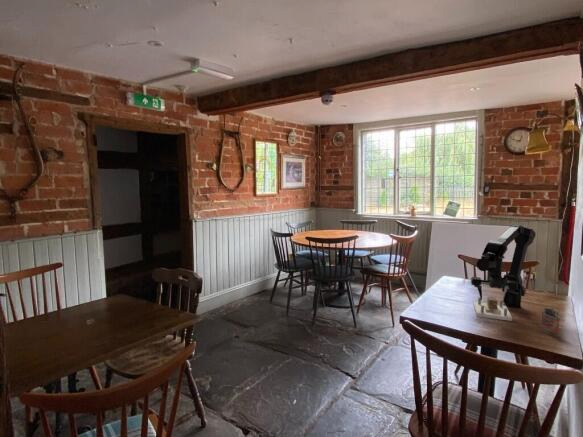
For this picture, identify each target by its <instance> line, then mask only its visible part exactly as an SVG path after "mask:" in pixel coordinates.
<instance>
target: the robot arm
mask: <svg viewBox="0 0 583 437" xmlns="http://www.w3.org/2000/svg"><path fill="white" fill-rule="evenodd" d="M535 238H536V232H535V231H534V229H533V228H528V227H525V226H522V225H521V224H511V225H510V226H509V228H508V229H507V230H506V231H505V232H504V233H502V234H501V235H500V236H499V237H497V238H493V239H491V240H489V241H488V242H487V243H486V245H485V248H484V249H483V252H482V254H481V257H480V258H479V259H478V260H477V261H476V267H477V269H478V270H479V271H481V272H487V275H486V279H481V277H478V276H471V277H470V283H471V285H472V286H474V287H475V288H477V290H478V294H479V298H481V301H482V299H483V291H482V289H483V288H482V285H489V287H490V288H491V289H492V288H493V289H499V290H500V289H501V290H502V292H503V295H502V296H503V297H502V300H503V304H504V306H506V307H507V308H508V307H509V308H510V307H511V308H517V309H518V308H519V309H522V305H521V304H522V302H521V301H522V297H525V295H526V291H527V290H526V289H525V287H524V285H523V284H524V280H523V278H522V275H521V274H522V270H523V267H524V262H525V259H526V254H527V250H528V247H529V246H530V245H531V244H533V242H534V239H535ZM513 241H514V243H515V248H514V251H513V256H512V260H511V264H510V268H509V272H508V273H507V274H504V275H503V276H502V274H503V273H502V272H503V271H502V269H503V260H504V259H505V254H506V252H507V251H508V246H509V245H510V244H511V243H512V242H513Z"/></svg>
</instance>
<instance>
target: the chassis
mask: <svg viewBox="0 0 583 437" xmlns="http://www.w3.org/2000/svg"><path fill="white" fill-rule="evenodd" d="M484 303H485V302H482V300H481V298H480V297H478V300H477V301H473V308H474V312H475V315H476V317H481V318H487V319H494V320H502V321H509V322H513V317H512V315H511V313H510V311H509V309H508V306H506V305H503V304H504V302H503V299H499V304H497V305H498V306H499V308H500V310H501V314H500V313H492V312H486V311H485V308H484Z"/></svg>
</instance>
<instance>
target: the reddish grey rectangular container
mask: <svg viewBox="0 0 583 437" xmlns="http://www.w3.org/2000/svg"><path fill="white" fill-rule="evenodd" d="M559 313H560V312H559V311H558V310H555V309H554V308H552V307H548V306H544V310H541V311H540V314H541V317H540V318H541V319H540V326H539V329H540V330H541V331H543V332H544V333H545V334H547V335H549V336H550V335H551V337H552V336H553V337H559V327H560V321H561V317H560V316H559Z"/></svg>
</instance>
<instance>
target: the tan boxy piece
mask: <svg viewBox="0 0 583 437" xmlns="http://www.w3.org/2000/svg"><path fill="white" fill-rule="evenodd" d="M486 301H487V302H483V303H484V308H485V311H486V312H492V313H500V314H501V310H500V308H499V306H498V305H499V304H498V303H499V301H498V299H497V297H493V296H487V299H486Z"/></svg>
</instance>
